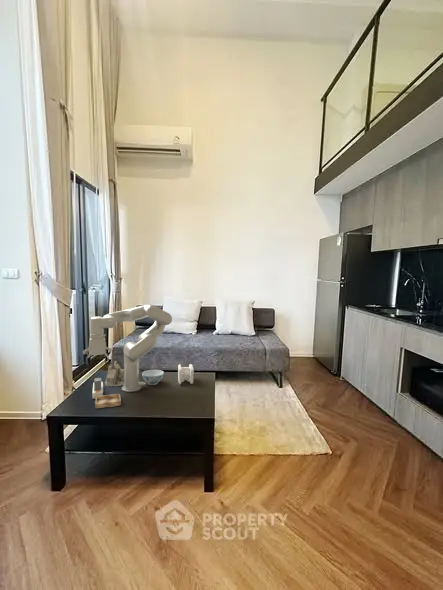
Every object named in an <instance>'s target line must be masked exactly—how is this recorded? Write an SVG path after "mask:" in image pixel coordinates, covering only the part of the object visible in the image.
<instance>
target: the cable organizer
mask: <svg viewBox="0 0 443 590" xmlns="http://www.w3.org/2000/svg"><path fill="white" fill-rule="evenodd" d="M177 368H178V369H177V373H178V374H177V380H178V385H181V384H182V383H184V382H185V381H187V382H189V383H190V385H192V384H194V372H195V369H194V366H193V364H192V363H190V364H189V365H188V366H182V364H178V366H177Z"/></svg>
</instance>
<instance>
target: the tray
mask: <svg viewBox="0 0 443 590" xmlns="http://www.w3.org/2000/svg"><path fill="white" fill-rule="evenodd" d="M120 406H122V399H121V393H114V394H106V395H104V394H103V396H96V399H95V400H94V408H95V409H101V408H102V409H103V408H109V407H110V408H111V407H120Z"/></svg>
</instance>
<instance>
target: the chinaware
mask: <svg viewBox="0 0 443 590" xmlns="http://www.w3.org/2000/svg"><path fill="white" fill-rule="evenodd" d="M164 374H165V372H164V371H163V370H160V369H149V370H144V371H143V372H141V375H142V378H143V381H144V382H146V384H147V385H150V386H155V385H158V383H159V382H160V381H161V380H162V379H163V377H164Z"/></svg>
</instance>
